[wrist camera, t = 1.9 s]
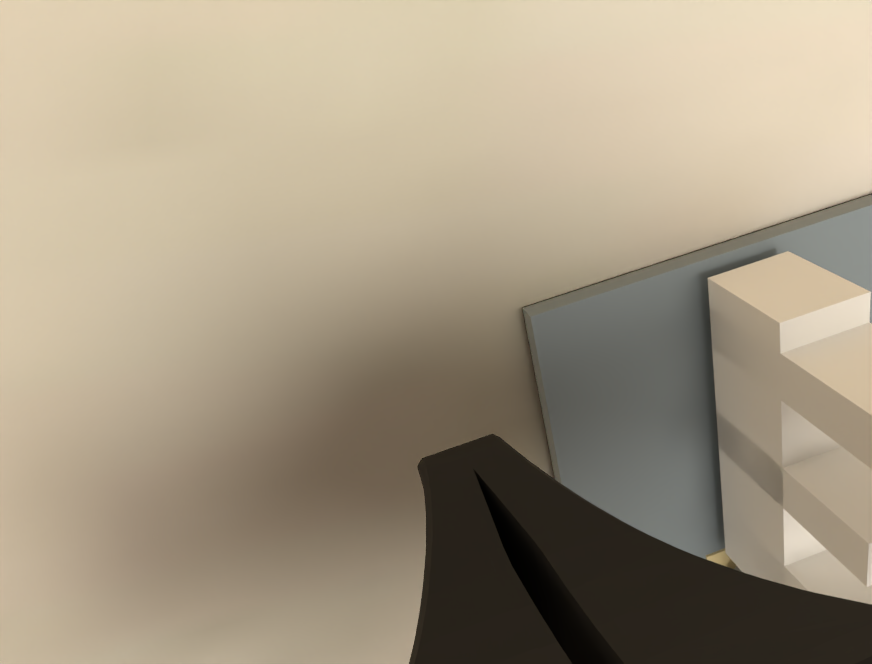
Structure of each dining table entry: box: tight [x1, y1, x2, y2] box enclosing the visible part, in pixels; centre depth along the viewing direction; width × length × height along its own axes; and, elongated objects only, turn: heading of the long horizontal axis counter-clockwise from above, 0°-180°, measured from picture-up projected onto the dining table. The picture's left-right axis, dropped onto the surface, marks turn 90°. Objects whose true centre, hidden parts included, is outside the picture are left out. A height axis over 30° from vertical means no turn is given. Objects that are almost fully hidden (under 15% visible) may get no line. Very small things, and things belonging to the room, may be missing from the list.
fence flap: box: [708, 251, 872, 604], centre depth 14 cm, size 9×2×4 cm, turn 13°
